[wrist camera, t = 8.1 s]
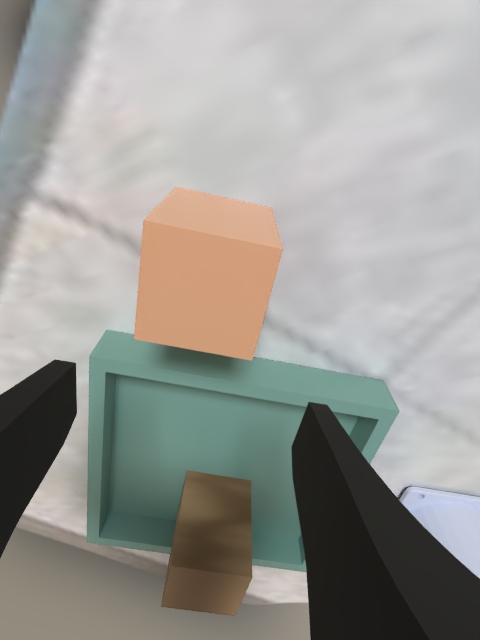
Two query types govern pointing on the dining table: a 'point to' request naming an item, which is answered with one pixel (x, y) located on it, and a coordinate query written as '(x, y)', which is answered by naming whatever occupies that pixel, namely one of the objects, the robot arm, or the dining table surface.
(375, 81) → the dining table surface
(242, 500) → the walnut block
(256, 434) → the tray
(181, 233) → the terracotta block
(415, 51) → the dining table surface
